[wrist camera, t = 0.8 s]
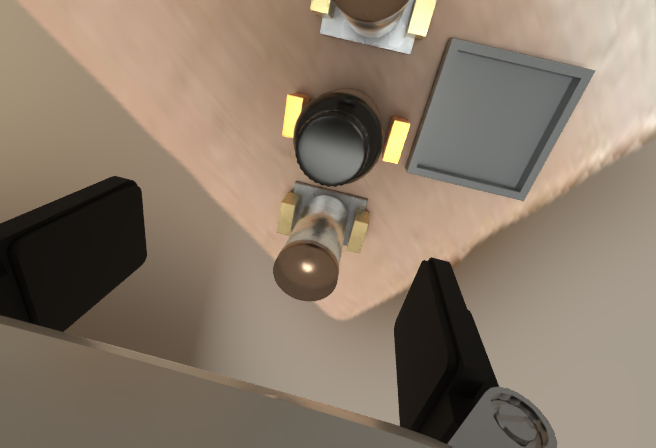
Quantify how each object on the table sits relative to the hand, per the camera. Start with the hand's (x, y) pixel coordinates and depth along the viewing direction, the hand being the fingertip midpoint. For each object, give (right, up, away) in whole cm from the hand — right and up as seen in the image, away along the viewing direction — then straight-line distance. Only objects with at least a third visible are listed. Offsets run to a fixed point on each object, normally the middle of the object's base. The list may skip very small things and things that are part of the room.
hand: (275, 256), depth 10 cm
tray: (+16, +10, +19) cm, 27 cm away
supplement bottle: (+4, +11, +21) cm, 24 cm away
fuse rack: (+4, +11, +20) cm, 23 cm away
